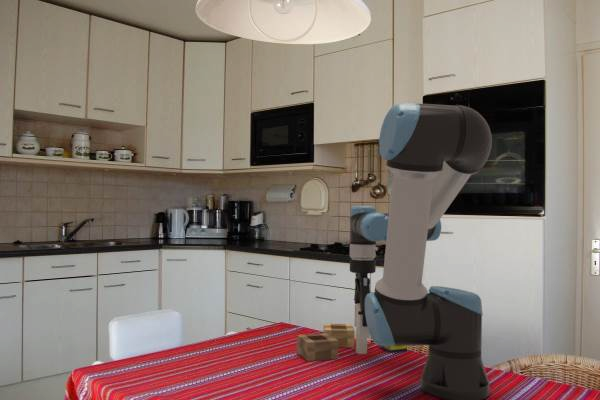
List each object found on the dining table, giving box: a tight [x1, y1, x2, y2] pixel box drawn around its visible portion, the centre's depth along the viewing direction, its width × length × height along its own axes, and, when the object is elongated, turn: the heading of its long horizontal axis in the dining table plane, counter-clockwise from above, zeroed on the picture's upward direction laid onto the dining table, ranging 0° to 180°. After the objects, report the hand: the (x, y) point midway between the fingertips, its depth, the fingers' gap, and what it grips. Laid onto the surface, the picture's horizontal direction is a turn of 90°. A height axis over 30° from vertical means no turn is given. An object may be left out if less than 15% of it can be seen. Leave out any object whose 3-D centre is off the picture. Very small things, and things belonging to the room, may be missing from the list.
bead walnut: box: [296, 332, 339, 362], centre depth 143 cm, size 9×9×5 cm
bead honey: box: [322, 323, 356, 348], centre depth 157 cm, size 9×9×5 cm
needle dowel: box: [355, 303, 368, 355], centre depth 147 cm, size 3×3×14 cm
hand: (361, 332), depth 147 cm, fingers open, 13 cm apart
